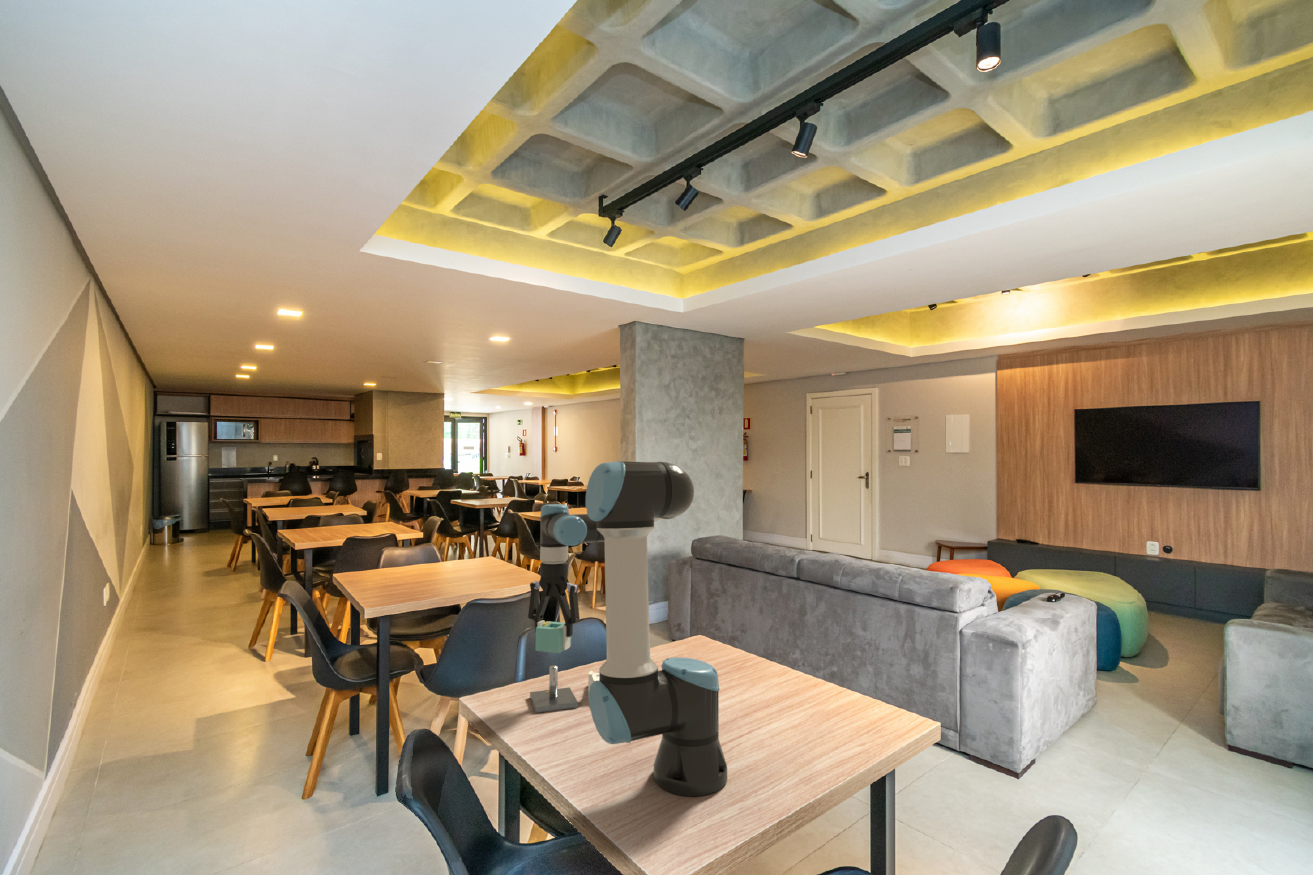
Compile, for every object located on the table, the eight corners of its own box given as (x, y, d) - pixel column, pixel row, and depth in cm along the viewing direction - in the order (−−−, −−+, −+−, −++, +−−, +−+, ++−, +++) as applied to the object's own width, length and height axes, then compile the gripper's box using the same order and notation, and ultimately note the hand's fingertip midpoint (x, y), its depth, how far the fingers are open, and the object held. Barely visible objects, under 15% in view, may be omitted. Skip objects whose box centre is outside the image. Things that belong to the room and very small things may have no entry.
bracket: (614, 702, 164) (614, 674, 164) (588, 702, 164) (588, 674, 164) (617, 685, 177) (617, 658, 177) (593, 685, 177) (593, 658, 177)
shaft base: (577, 707, 160) (577, 670, 160) (535, 713, 156) (535, 675, 157) (569, 692, 170) (569, 658, 171) (529, 697, 167) (530, 662, 167)
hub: (558, 653, 159) (559, 627, 160) (535, 650, 162) (535, 625, 162) (571, 645, 166) (571, 621, 166) (548, 642, 168) (548, 618, 169)
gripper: (593, 561, 165) (592, 646, 164) (529, 557, 172) (528, 639, 171) (581, 565, 158) (580, 655, 157) (514, 561, 165) (513, 647, 164)
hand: (553, 646), depth 164 cm, fingers closed on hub, 7 cm apart
